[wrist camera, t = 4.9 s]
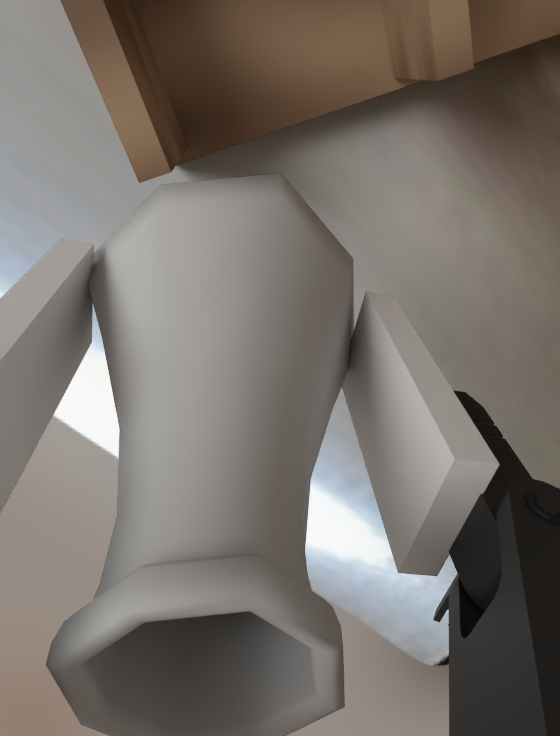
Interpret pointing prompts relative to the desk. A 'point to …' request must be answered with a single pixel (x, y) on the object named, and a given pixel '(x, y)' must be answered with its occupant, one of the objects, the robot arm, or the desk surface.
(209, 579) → the flask
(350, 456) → the desk surface
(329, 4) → the rack
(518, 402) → the desk surface
